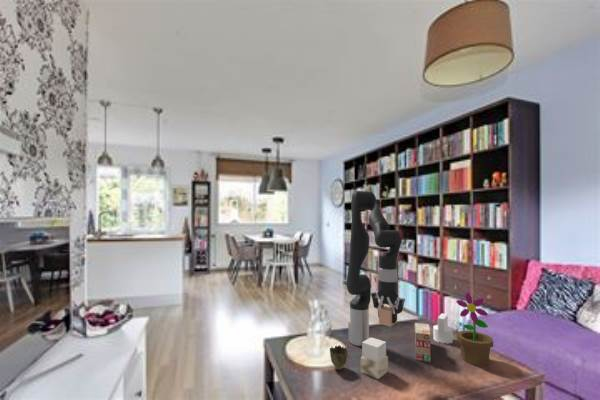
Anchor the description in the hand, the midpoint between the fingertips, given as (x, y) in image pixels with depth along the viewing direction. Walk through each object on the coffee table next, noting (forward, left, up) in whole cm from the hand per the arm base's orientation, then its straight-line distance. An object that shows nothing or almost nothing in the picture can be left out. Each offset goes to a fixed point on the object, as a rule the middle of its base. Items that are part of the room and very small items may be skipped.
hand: (387, 320), depth 129 cm
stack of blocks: (+2, +30, -21) cm, 36 cm away
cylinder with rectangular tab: (+4, +49, -21) cm, 54 cm away
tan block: (0, 0, -1) cm, 1 cm away
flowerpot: (+22, +36, -21) cm, 47 cm away
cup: (-17, -11, -21) cm, 29 cm away
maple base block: (-5, -3, -21) cm, 22 cm away
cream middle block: (-5, -3, -15) cm, 16 cm away
